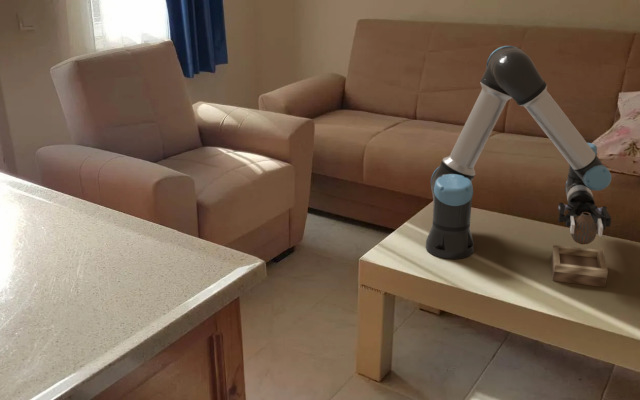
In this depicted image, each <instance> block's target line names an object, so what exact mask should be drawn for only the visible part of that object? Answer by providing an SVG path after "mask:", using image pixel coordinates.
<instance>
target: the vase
mask: <svg viewBox="0 0 640 400" xmlns="http://www.w3.org/2000/svg"><path fill="white" fill-rule="evenodd" d="M574 223H575V228H574V234H571V233H570V235H571V239H573V241H574V242H576V243H577V244H580V245H588V244H589V245H590V243H592V242H593V241H594V240H595V238H596V237H597V234H598V230H597V224H596V223H595V221H594V220H593V218H592V216H591V214H590V213H588V212H583V213H582V214H581V215H580V216H577V217H576V218H574Z"/></svg>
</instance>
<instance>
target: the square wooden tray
mask: <svg viewBox="0 0 640 400" xmlns="http://www.w3.org/2000/svg"><path fill="white" fill-rule="evenodd" d="M550 262H551V265H550V266H551V275H552V281H553V282H554V281H555V282H561V283H569V284H577V285H585V286H595V287H602V288H606V285H607V278H608V272H609V271H608V270H609V269H608V266H607V263H606V258H605V254H604V251H603V249H594V248H585V247H578V246H577V247H576V246H568V245H567V246H566V245H559V244H553V245H552V249H551V257H550Z"/></svg>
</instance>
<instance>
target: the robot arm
mask: <svg viewBox="0 0 640 400" xmlns="http://www.w3.org/2000/svg"><path fill="white" fill-rule="evenodd" d="M486 61H487V62H486V69H485V71H484V73H483V75H482V77H481V80H480V82H479V83H480V87H481V91H480V92H479V95H478V97H477V99H476V101H475V102H474V105H473V107H472V109H471V111H470V113H469V115H468V117H467V119H466V121H465V123H464V125H463V127H462V130H461V132H460V134H459V136H458V137H457V140H456V142H455V144H454V146H453V148H452V150H451V152H450V154H449V155H448V156H445V157H443V158H442V160H441V162H440V165H439V166H438V167H437V168H436V169H435V170H434V171H433V173H432V175H431V178H430V188H431V189H430V190H431V193H432V199H433V209H432V224H431V227H430V230H429V233H428V235H427V237H426V241H425V250H426V251H427V252H428V253H429V254H431V255H433V256H434V257H436V258H437V257H438V258H440V259H447V260H449V259H450V260H457V259H460V260H461V259H464V258H468V257H470V256H471V255H473V254H474V250H475V249H474V248H475V243H474V239H473V235H472V231H471V217H472V216H471V215H472V205H473V204H472V203H473V195H474V189H473V188H474V187H473V182H472V181H473V180H474V177H475V176H476V170H475V165H476V164H477V161H478V160H479V158H480V155H481V154H482V152H483V151H484V148H485V146H486V143H487V142H488V140H489V138H490V136H491V135H492V132H493V130H494V128H495V126H496V124H497V122H498V121H499V118H500V116H501V114H502V112H503V110H504V109H505V107H506V104H507V102H508V101H509V100H512V99H513V100H514V102H515V103H516V104H517V105H518V106H519V107H524V108H525V109H526V110H527V112H528V114H529V115H530V116H531V117H532V118H533V120H534V121H535V123H537V125H538V126H539V128H540V129H541V130H542V131H543V132H544V134H545V135H546V136H547V137H548V139H549V140H550V141H551V143H552V144H553V145H554V147H556V148H557V150H558V152H559V153H560V154H561V156H562V157H563V158H564V159H565V160H566V162H567V163H568V164H569V166H568V172H567V173H568V174H567V180H566V182H565V187H564V191H565V193H566V199H567V204H565V203H563V202H558V210H557V211H558V212H559V214H558V215H559V216H558V222H559V223H563V222H564V226H566V227H569V229H570V231H569V232H570V235H571V234H574V228H575V223H574V221H575V219H576V218H578V217H579V216H580V215H581V214H582V213H583V212H588V213H590V214H591V216H592V218H593V220H594V221H595V223H596V226H597V234H598V237H603V232H604V231H605V230H606V227H607V228H609V227H611V224H612V216H611V215H610V213H609V212H608V206H605V205H604V206H602V207H598V206H597V205H596V202H595V199H594V195H593V191H597V192H599V191H603V190H605V189H606V188H607V187H609V185H610V184H611V182H612V174H611V172H610V170H609V169H608V167H607V166H605V164H604V163H603V162H602V161H601V159H600V158H599V156H597V155H598V147H597V145H596V144H594V143H592V142H587V141H586V140H585V138H584V137H583V135H582V134H581V133H580V132H579V131H578V129H577V128H576V127H575V125H574V124H573V123H572V122H571V120H570V119H569V118H568V116H567V114H565V112H564V111H563V110H562V108H561V106H559V104H558V103H557V102H556V101H555V99H554V98H553V97H552V95H551V94H550V93H549V92H548V90H547V89H548V83H546V82H545V80H544V79H543V77H542V76H541V73H540V72H539V71H538V69H537V67H536V65H535V63H534V62H533V60H532V59H531V57H530V56H529V55H528V54H526V53H525V52H524V51H523V50H522V49H520V48H519V47H516V46H512V45H504V46H503V45H502V46H500V47H498V48H496V49H495V50H494V51H492V52H491V53H490V54H489V57H488V59H487V60H486ZM566 211H568V213H566ZM565 213H566V215H565Z"/></svg>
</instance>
